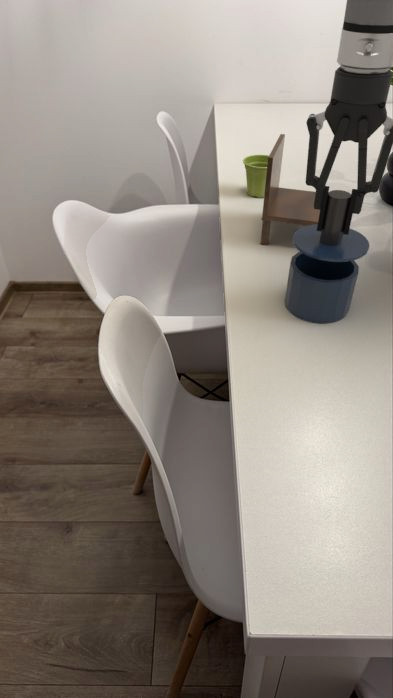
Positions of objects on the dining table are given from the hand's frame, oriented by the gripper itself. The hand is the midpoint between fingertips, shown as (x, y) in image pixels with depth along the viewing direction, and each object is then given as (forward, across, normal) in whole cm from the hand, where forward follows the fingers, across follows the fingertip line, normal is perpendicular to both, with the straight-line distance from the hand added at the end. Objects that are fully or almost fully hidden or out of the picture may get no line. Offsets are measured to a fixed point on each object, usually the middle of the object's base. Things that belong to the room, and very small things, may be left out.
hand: (332, 228), depth 80 cm
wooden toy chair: (+15, -6, +28) cm, 32 cm away
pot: (+15, 0, 0) cm, 15 cm away
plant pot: (+15, -20, +48) cm, 54 cm away
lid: (+3, 0, 0) cm, 3 cm away
